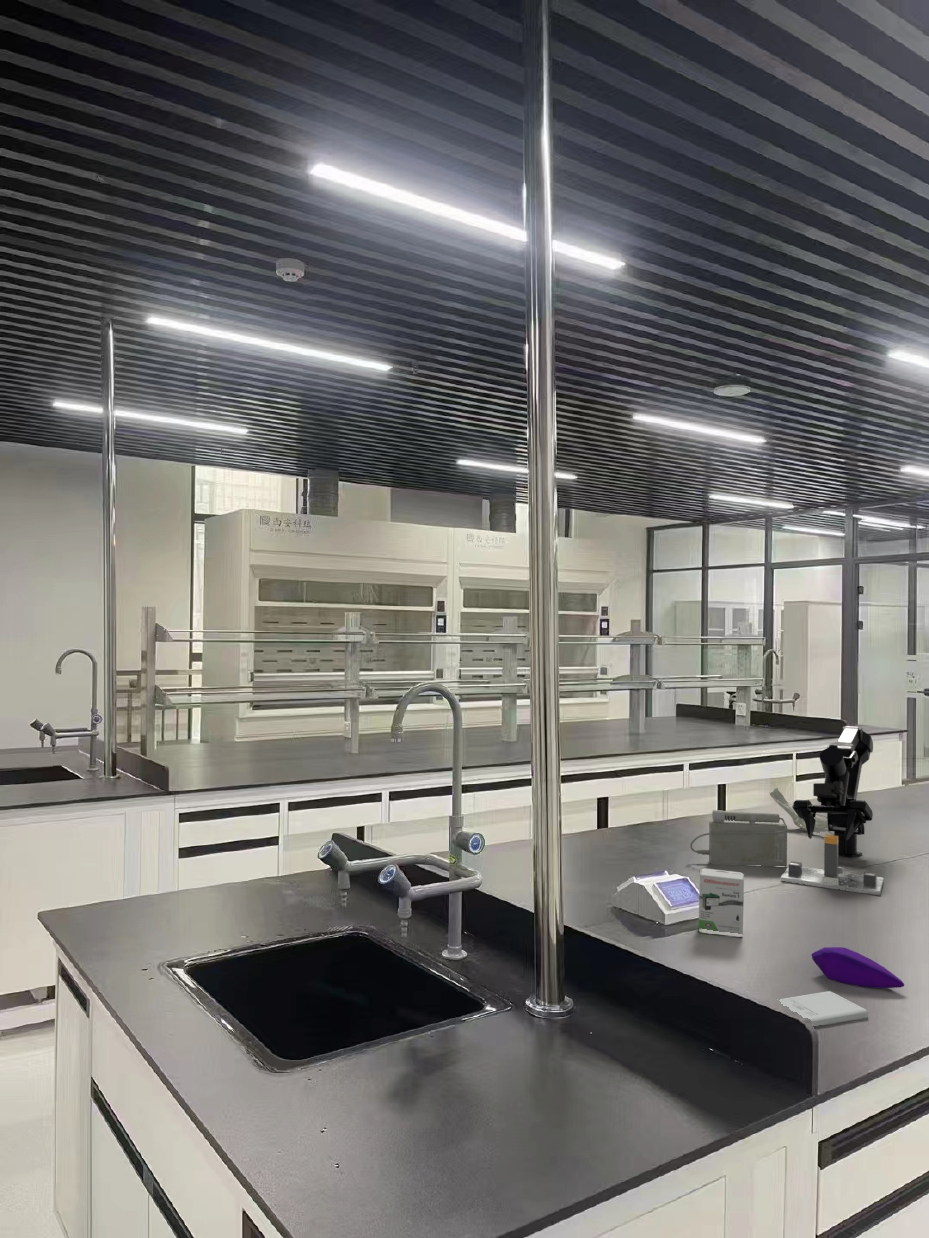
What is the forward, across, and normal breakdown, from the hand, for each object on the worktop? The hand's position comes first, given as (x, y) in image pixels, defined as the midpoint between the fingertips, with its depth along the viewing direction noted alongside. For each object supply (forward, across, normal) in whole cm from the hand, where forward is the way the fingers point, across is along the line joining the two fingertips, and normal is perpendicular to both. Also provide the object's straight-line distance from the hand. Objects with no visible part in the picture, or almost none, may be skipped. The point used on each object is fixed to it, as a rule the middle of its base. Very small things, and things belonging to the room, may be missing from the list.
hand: (827, 838), depth 220 cm
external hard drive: (+65, +29, -61) cm, 94 cm away
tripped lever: (+13, +4, -3) cm, 14 cm away
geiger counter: (+11, -20, -4) cm, 23 cm away
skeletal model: (-26, -25, +41) cm, 55 cm away
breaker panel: (+12, +3, -1) cm, 13 cm away
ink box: (+47, +1, -44) cm, 65 cm away
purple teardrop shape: (+54, +29, -48) cm, 78 cm away
